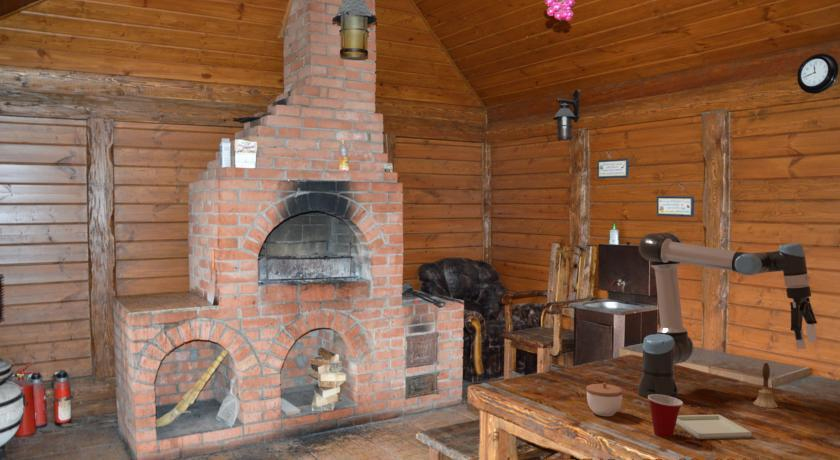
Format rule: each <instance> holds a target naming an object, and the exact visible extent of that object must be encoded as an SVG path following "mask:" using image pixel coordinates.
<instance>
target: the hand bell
mask: <svg viewBox="0 0 840 460" xmlns="http://www.w3.org/2000/svg"><path fill="white" fill-rule="evenodd" d="M770 369H771V368H770V365H769V363H767V362H764V364H763V366H762V370H761V372H762V378H763V379H762V380H763V384H762V385H763V386H762V388H761V389H759V390H758V395H757V398H756V399H755V400H754V401H753V402H752V404H753V405H754V406H756V407H758V408H759V407H760V408H765V409H776V408H778V407H779V406H778V404H777V403H776V401H775V399H774V395H773V392H772V390H770V389H769V379H770V375H771V370H770Z"/></svg>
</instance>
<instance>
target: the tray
mask: <svg viewBox="0 0 840 460" xmlns="http://www.w3.org/2000/svg"><path fill="white" fill-rule="evenodd" d="M676 426H678V427H680V429H682V430H684V431H685V432H687V433H689V434H690V435H691V436H693V437H695V438H697V439H698V440H713V439H714V440H716V439H719V440H720V439H752V431H750V430H748V429H747V428H745V427H743V426H741V425H739V424H738V423H736V422H733V421H732V420H731V419H728V418H726V417H725V416H723V415H721V414H689V415H688V414H687V415H686V414H685V415H684V414H683V415H678V417H677V421H676Z"/></svg>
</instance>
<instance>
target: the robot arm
mask: <svg viewBox="0 0 840 460" xmlns="http://www.w3.org/2000/svg"><path fill="white" fill-rule="evenodd" d="M778 247H779V248H778V250H775V251H764V252H751V253H750V252H743V251H735V250H730V249H729V250H728V249H724V248H717V247H711V246H710V247H709V246H704V245H695V244H691V243H683V241H682V239H680V237H679V236H678V235H676V234H674V233H671V232H651V233H650V232H649V233H647V234H645V235H644V236H643V237H642V238H641V239H640V241H639V244H638V252H639V254H640V256H641V257H642V258H643V259H644V260H646V261H648V262H650V267H651V268H653V270H654V274H655V284H656V294H657V295H656V296H657V301H658V302H657V303H658V312H659V313H658V314H659V321H660V327H659V328H658V330H657V333H655V334H649V335H646V336H645V337H644V338H643V343H642V375H641V378H640V379H639V381H638V385H637V394H638V395H639V396H641V397H644V398H648V395H651V394H658V395H666V396H670V397H674V398H677V399H678V398H679V389H678V387H677V383H676V381H675V380H676V379H675V378H674V376H675V375H674V372H675V365H679V364H682V363H684V362H686V361H687V360H689V359H690V358H691V357H692V355H693V353H694V346H695V345H694V343H693V340H692V339H691V338H690V337H689V334H688V329H686V328H685V327H684V326H683V315H682V314H683V313H682V306H681V295H680V287H679V285H680V284H679V277H678V267H680V265H681V263H682V264H689V265H693V266H699V267H705V268H710V269H711V268H712V269H717V270H722V271H729V272H735V273H739V274H741V275H743V276H754V275H758V274H765V273H774V272H782V273H783V279H784V286H785V287H786V288H785V291H786V297H787V299H793V300H792V301H790V302H789V303H790V304H789V305H790V331H793V334H794V340H795V345H796V349H797V350H807V348H806V347H807V346H806V341H805V334H804V333H805V332H804V329H803V328H802V327H803V319H804V321H805V323H806V324H805V329H806V335H807V342H808V343H818V338H817V332H816V327H815V325H816V324H818V321H817V320H816V316H815V313H814V310H813V307H812V304H811V300H810V297H811V296H812V292H811V287H810V286H809V285H810V282H809V281H810V278H811V277H810V276H808V275H809V274H808V268H807V261H806V254H805V251H804V247H803V244H801V243H789V244H782V245H781V244H780V245H779V246H778Z"/></svg>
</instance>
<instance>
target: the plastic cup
mask: <svg viewBox="0 0 840 460" xmlns="http://www.w3.org/2000/svg"><path fill="white" fill-rule="evenodd" d="M648 401H649V407H650V414H651V423H652V429H653V433H654V435H656V436H658V437H661V438H673V436H674V432H675V428H676V426H677V425H676V421H677V417H678V416H679V412H680V409H681V407H682V405H683V404H684V402H683V401H682V400H681V399H680V398H679V399H678V398H674V397H670V396H666V395H658V394H651V395H648Z"/></svg>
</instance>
